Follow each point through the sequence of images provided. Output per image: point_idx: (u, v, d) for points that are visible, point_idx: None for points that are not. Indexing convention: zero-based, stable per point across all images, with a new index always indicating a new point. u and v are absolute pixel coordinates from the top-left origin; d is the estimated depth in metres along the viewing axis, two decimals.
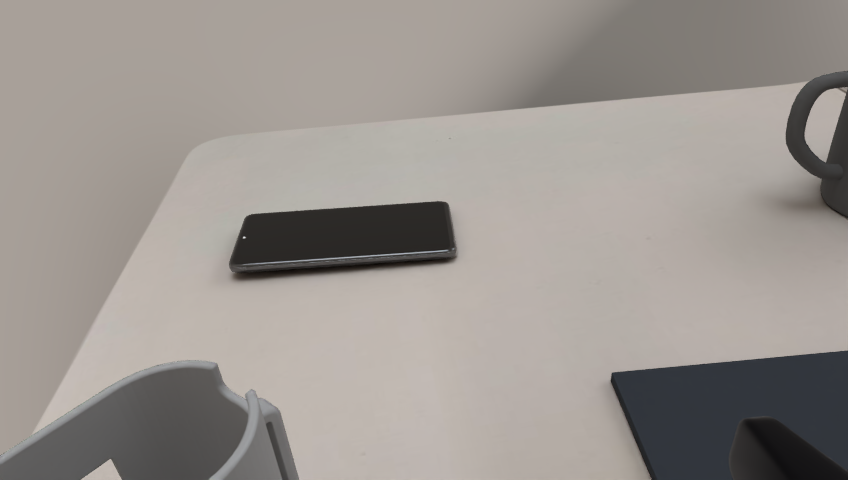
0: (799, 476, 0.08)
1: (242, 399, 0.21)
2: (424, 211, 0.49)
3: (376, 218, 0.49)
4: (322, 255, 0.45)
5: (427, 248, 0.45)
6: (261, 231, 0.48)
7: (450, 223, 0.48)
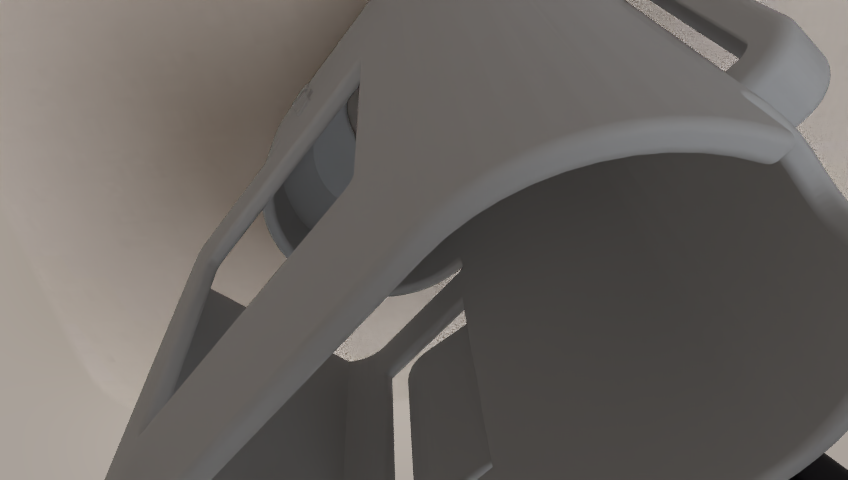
0: (800, 476, 0.08)
1: None
2: None
3: None
4: None
5: None
6: None
7: None
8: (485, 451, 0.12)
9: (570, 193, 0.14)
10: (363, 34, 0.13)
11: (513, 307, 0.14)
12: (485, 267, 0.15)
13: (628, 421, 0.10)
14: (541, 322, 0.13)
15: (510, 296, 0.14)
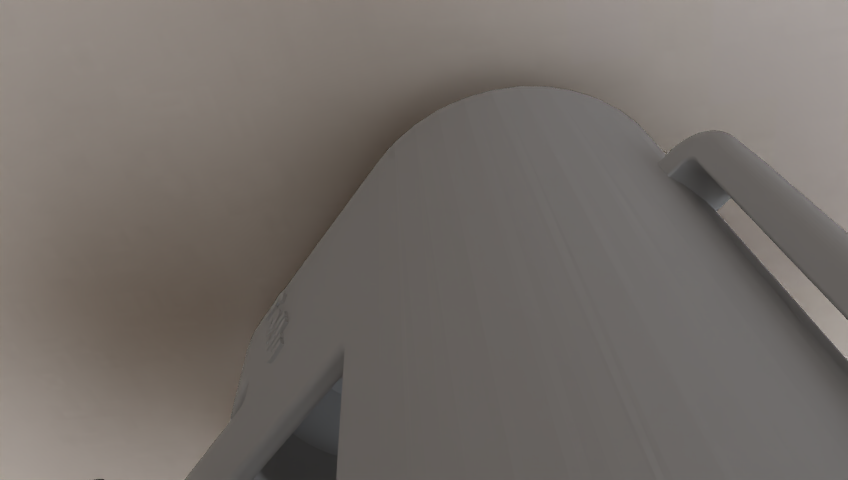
0: None
1: None
2: None
3: None
4: None
5: None
6: None
7: None
8: None
9: None
10: (349, 275, 0.09)
11: None
12: None
13: None
14: None
15: None
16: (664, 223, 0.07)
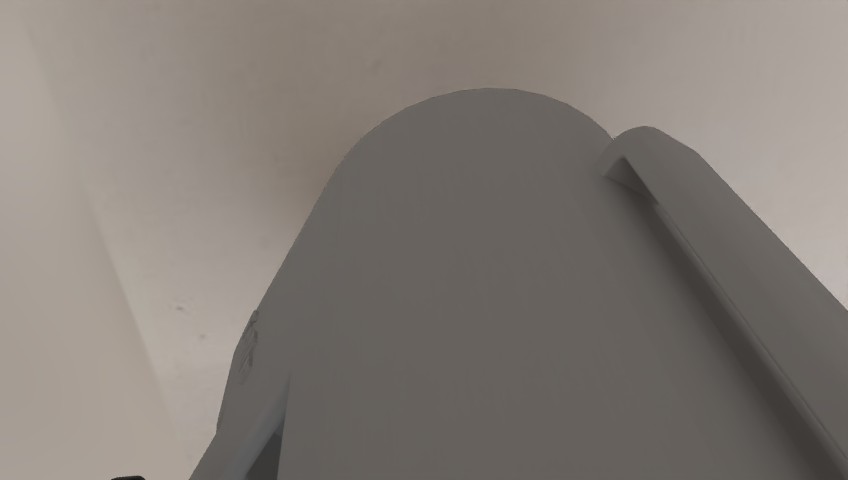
0: None
1: None
2: None
3: None
4: None
5: None
6: None
7: None
8: None
9: None
10: (300, 298, 0.09)
11: None
12: None
13: None
14: None
15: None
16: (583, 232, 0.07)
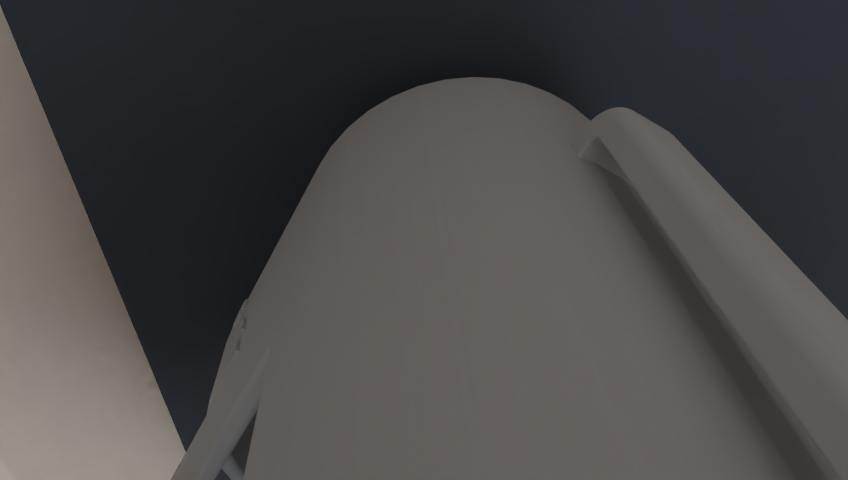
0: None
1: None
2: None
3: None
4: None
5: None
6: None
7: None
8: None
9: None
10: (284, 280, 0.09)
11: None
12: None
13: None
14: None
15: None
16: (552, 205, 0.07)
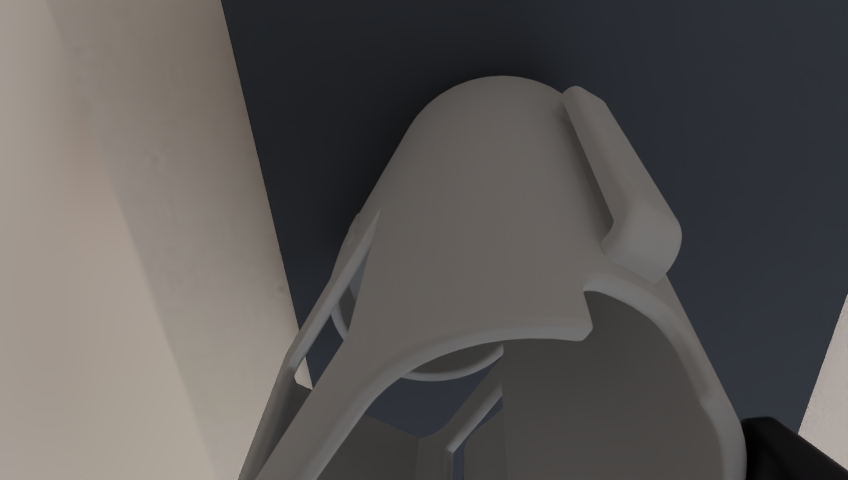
0: (800, 476, 0.08)
1: (627, 291, 0.09)
2: None
3: None
4: None
5: None
6: None
7: None
8: None
9: None
10: (387, 182, 0.16)
11: (534, 394, 0.16)
12: (518, 354, 0.18)
13: None
14: (551, 409, 0.15)
15: (532, 383, 0.16)
16: (528, 128, 0.13)
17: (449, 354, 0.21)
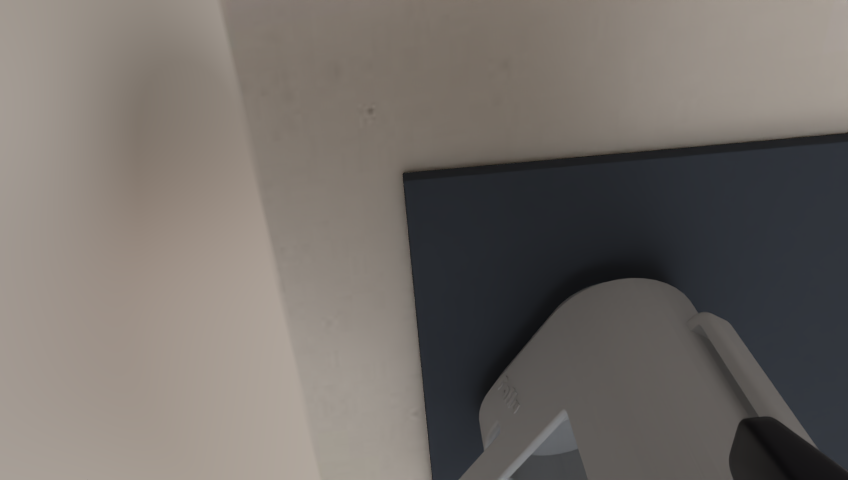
0: (799, 476, 0.08)
1: None
2: None
3: None
4: None
5: None
6: None
7: None
8: None
9: None
10: (556, 377, 0.21)
11: None
12: None
13: None
14: None
15: None
16: (689, 362, 0.18)
17: (567, 467, 0.26)
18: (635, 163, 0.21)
